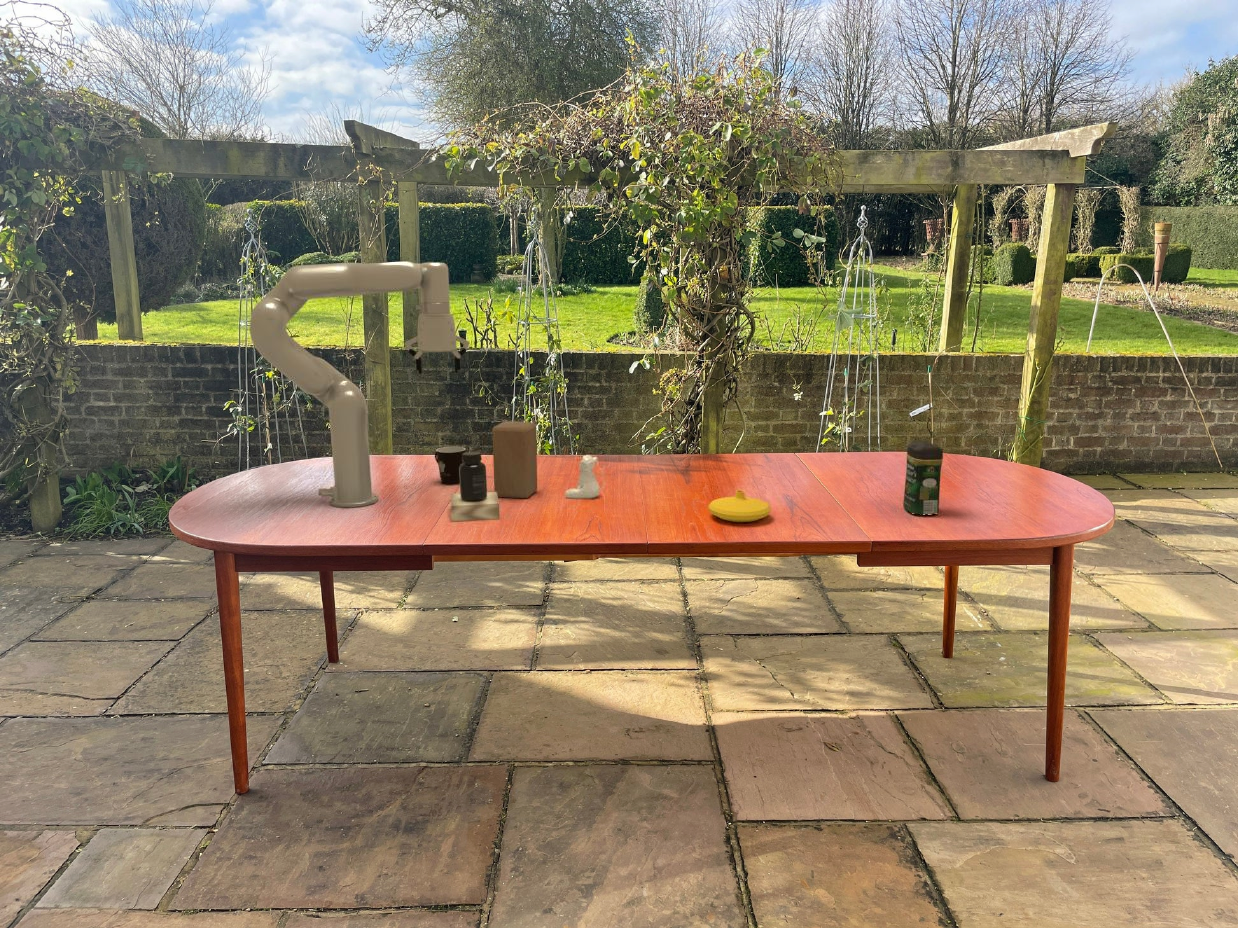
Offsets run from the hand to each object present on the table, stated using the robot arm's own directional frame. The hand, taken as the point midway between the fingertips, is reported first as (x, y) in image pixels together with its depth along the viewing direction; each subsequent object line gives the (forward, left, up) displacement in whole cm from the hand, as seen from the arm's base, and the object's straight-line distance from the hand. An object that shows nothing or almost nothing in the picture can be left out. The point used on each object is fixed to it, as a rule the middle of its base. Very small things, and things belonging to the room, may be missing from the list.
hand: (438, 373), depth 234 cm
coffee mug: (+2, +15, -34) cm, 38 cm away
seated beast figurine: (+39, -10, -34) cm, 53 cm away
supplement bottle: (+8, -22, -30) cm, 38 cm away
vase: (+74, -39, -35) cm, 90 cm away
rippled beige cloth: (+8, -22, -34) cm, 41 cm away
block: (+20, -4, -34) cm, 40 cm away
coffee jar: (+122, -43, -34) cm, 134 cm away
